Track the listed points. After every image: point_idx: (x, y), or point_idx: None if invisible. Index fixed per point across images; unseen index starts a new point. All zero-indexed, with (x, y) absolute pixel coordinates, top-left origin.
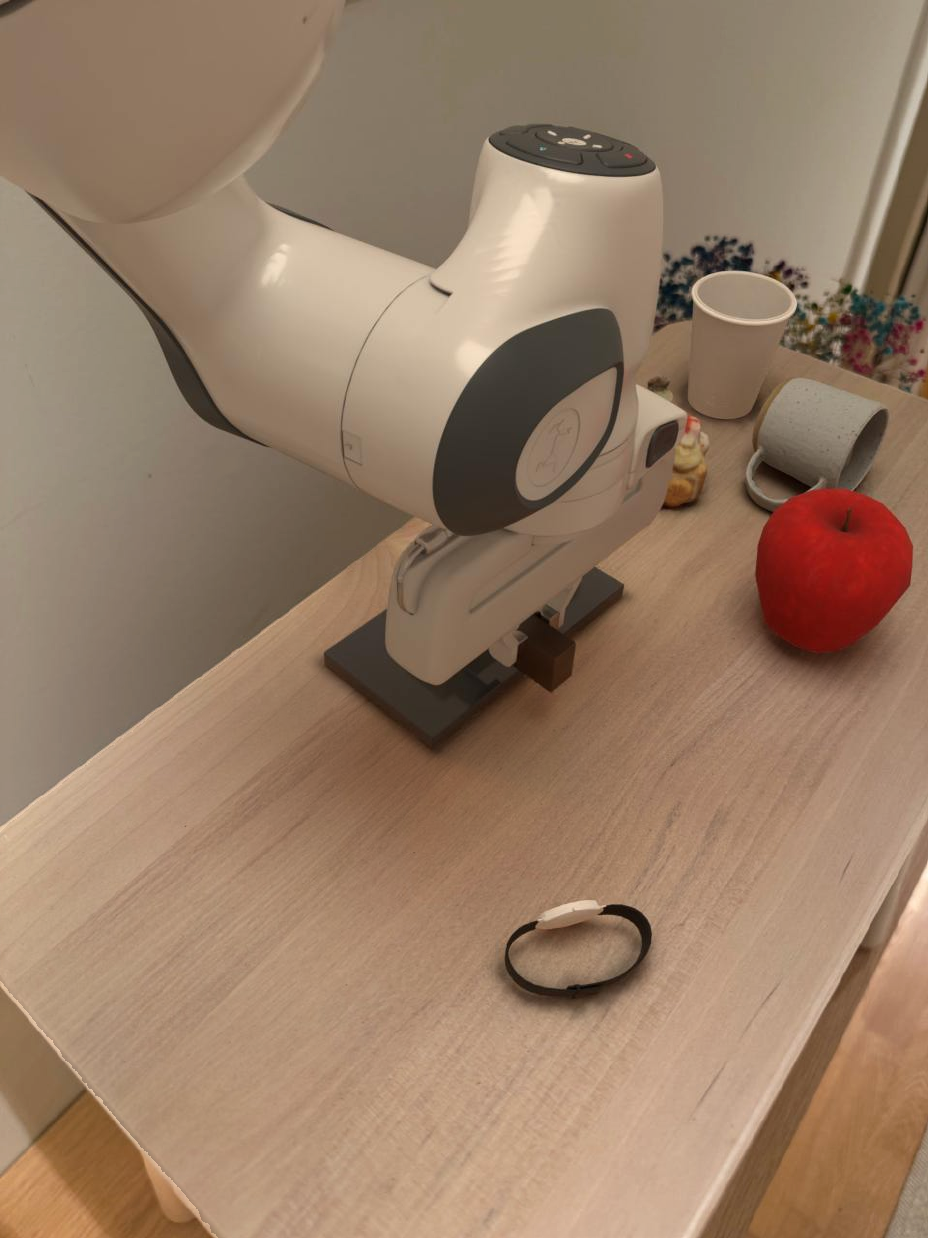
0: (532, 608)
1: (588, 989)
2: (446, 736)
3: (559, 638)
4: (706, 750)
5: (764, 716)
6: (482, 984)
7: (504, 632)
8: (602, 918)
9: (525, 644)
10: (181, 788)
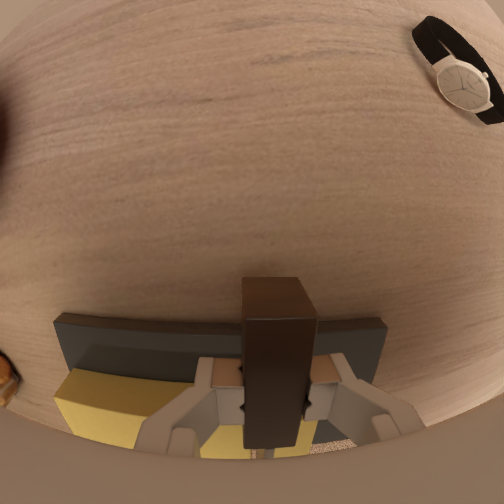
0: (409, 459)
1: (477, 53)
2: (363, 320)
3: (260, 347)
4: (160, 86)
5: (77, 83)
6: (496, 130)
7: (478, 420)
8: (416, 68)
9: (314, 373)
10: (467, 384)
